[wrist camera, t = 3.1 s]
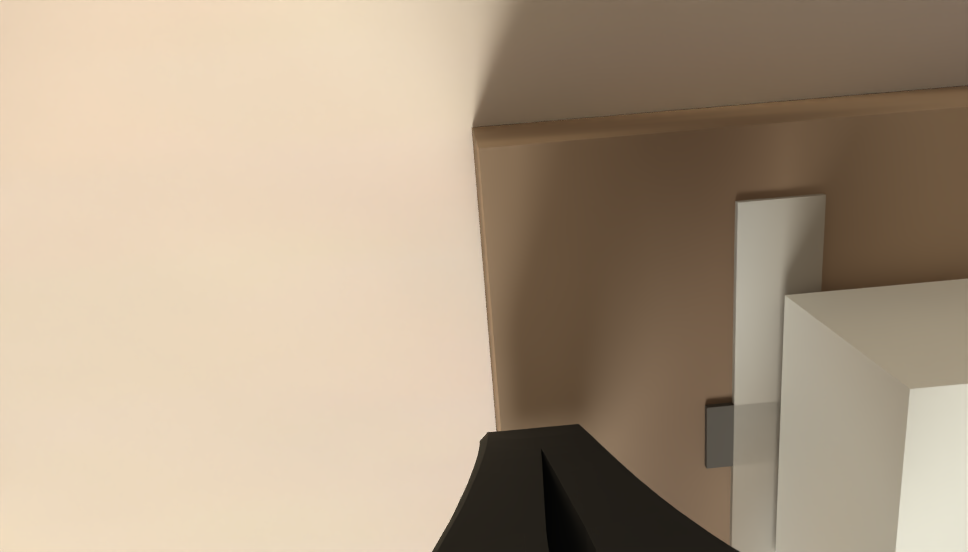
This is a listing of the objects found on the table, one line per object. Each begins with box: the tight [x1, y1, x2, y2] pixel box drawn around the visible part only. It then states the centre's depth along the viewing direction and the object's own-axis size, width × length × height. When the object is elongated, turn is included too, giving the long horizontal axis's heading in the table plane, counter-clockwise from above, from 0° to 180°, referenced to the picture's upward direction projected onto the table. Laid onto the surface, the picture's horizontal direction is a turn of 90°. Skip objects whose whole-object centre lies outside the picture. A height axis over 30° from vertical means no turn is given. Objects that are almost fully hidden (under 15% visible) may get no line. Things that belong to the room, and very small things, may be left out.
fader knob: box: [775, 279, 968, 552], centre depth 10 cm, size 3×4×3 cm
